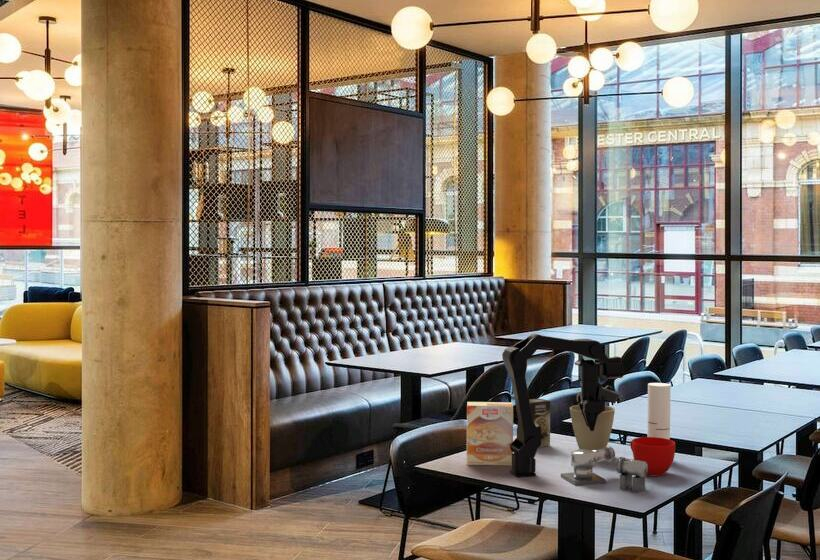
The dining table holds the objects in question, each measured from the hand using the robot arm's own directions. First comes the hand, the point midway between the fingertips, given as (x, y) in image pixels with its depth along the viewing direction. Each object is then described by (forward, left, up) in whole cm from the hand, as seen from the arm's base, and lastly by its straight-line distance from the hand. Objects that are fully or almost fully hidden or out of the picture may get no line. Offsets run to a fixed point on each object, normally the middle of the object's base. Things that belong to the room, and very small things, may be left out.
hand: (590, 428), depth 277 cm
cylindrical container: (+28, +6, -13) cm, 31 cm away
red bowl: (+17, -7, -13) cm, 22 cm away
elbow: (-4, -9, -9) cm, 13 cm away
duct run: (+2, -23, -13) cm, 27 cm away
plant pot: (+10, +18, -13) cm, 24 cm away
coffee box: (-3, +36, -13) cm, 38 cm away
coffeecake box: (-27, +17, -13) cm, 35 cm away
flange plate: (-7, -10, -13) cm, 18 cm away
